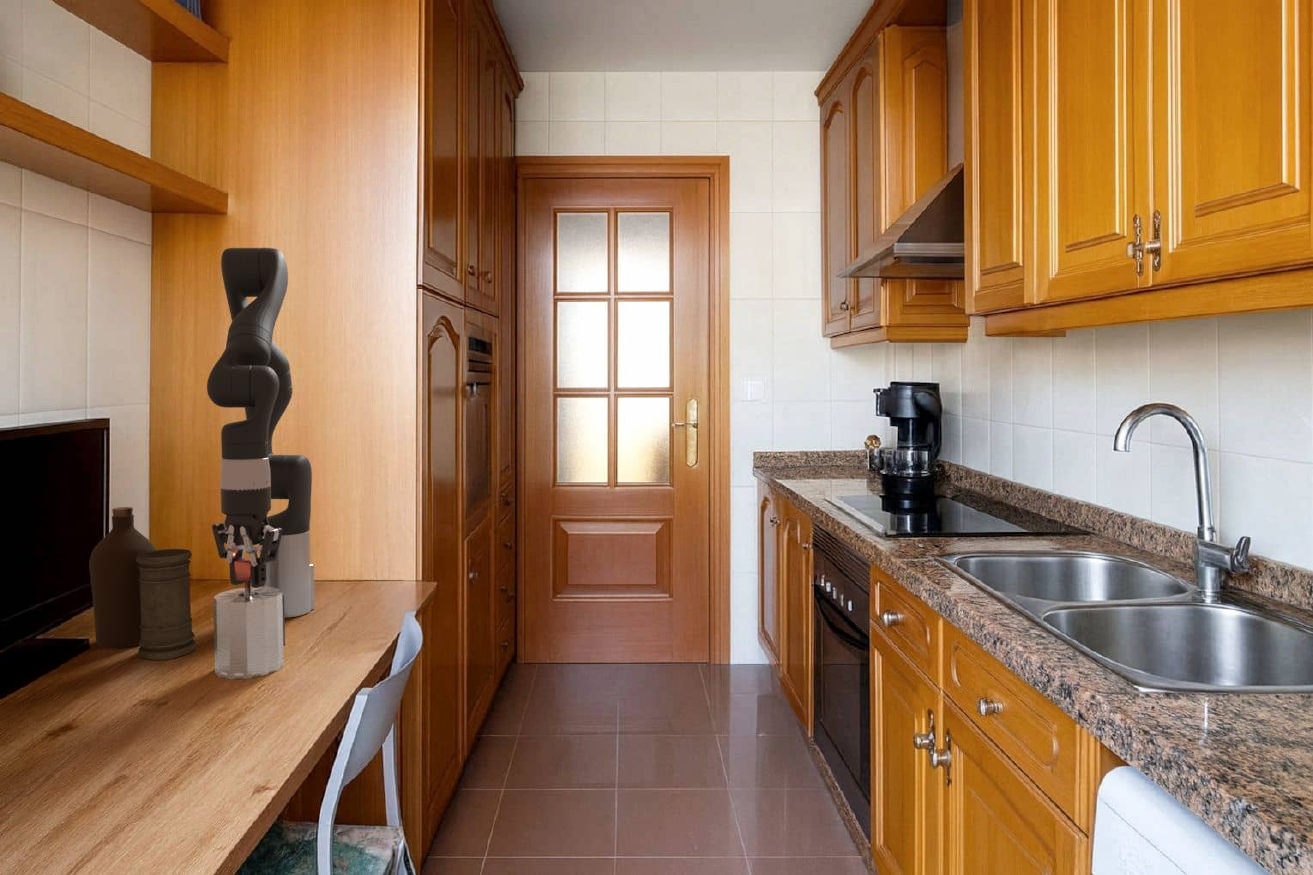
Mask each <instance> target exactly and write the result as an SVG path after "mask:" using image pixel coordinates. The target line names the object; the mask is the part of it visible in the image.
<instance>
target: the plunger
mask: <svg viewBox="0 0 1313 875" xmlns="http://www.w3.org/2000/svg"><path fill="white" fill-rule="evenodd" d="M251 566H252V564H251V560H250V557H244V558H242V559H237V560H235V561H234V573H235V580H239V581H245V582H244V588H245V597H250V596H252V589H251V587H252V586H251Z"/></svg>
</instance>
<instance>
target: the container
mask: <svg viewBox="0 0 1313 875" xmlns="http://www.w3.org/2000/svg"><path fill="white" fill-rule="evenodd" d="M191 558H192V552H191V550H189V549H183V548H166V549H156V550H154V551H149V552H144V553H141V554H139V555H138V556H137V558H136V561H137V563H139V564H140V565H139V566H138V568H139V570H140V577H139V581H140V600H141V624H140V629H141V639H140V641H139V645H138V646H139V648H138V650H137V654H138V657H140V658H141V659H143V660H144V659H145V660H151V661H152V660H153V661H160V660H169V659H175V658H179V657H183V656H184V655H189V654H190V653H192V652H193V651H194V650H195V649H196V645H197V644H196V640H195V639H194V638H195V635H196V634H194V632H193V628H192V627H193V626H192V624H193V617H192V613H191V585H190V580H191V579H190V578H191V577H190V576H191V573H190V564H191V561H190V559H191Z"/></svg>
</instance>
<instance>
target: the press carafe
mask: <svg viewBox="0 0 1313 875" xmlns="http://www.w3.org/2000/svg"><path fill="white" fill-rule="evenodd" d="M251 589H252V596H250V597H245V587H239V588H234V589H229V590H226V591H222V592H221V591H220V592H219V593H217V594H216V595H214V596H213V634H214V635H213V637H214V638H213V639H214V640H213V643H214V673H215V675H216V676H217V678H222V679H227V680H249V679H254V678H258V677H260V678H261V677H263V676H264V677H265V676H267V675H270V674H272V673H275V672H277V671H279V670H280V669H281V668H282V667H283V666H284V647H285V646H286V632H285V629H286V627H285V626H286V624H285V623H286V622H285V619H286V618H285V615H284V596H282V591H281V590H279V589H278V588H272V587H259V588H253V587H252V586H251Z"/></svg>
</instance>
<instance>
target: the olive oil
mask: <svg viewBox="0 0 1313 875" xmlns="http://www.w3.org/2000/svg"><path fill="white" fill-rule="evenodd" d="M111 510H112V511H111V512H112V516H111V524H112V528H111V530H110V531H109V532H108V533H107V534H106V536H104V537H103V538H102V539H101V540H100V541H99V542H98V543H97V545H95V546H94V548H93V549H92V552H91V553H90V557H89V561H88V562H89V563H88V565H89V567H88V568H89V575H90V584H91V585H90V586H91V594H92V605H93V614H94V616H93V617H94V618H93V619H94V632H95V633H94V634H95V644H96V646H97V647H98V648H100V649H105V650H106V649H107V650H111V649H112V650H114V649H115V650H116V649H127V648H134V647H137V646H140V645H139V641H140V639H141V629H140V624H141V600H140V581H139V577H140V570H139V568H138V566H139V565H140V564H139V563H137V561H136V558H137V556H138V555H139V554H141V553H144V552H149V551H154V550H157V549H156V547H155V545H154V543H153V542H152V541H151V540H150V539H148V538H147V537H146V536H145V535H143V534H142V533H141V532H140V531H138V529H136V527H135V524H134V523H135V519H134V518H135V515H134V514H133V512H134V508H133V507H131V506H120V507H114V508H112V509H111Z"/></svg>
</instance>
